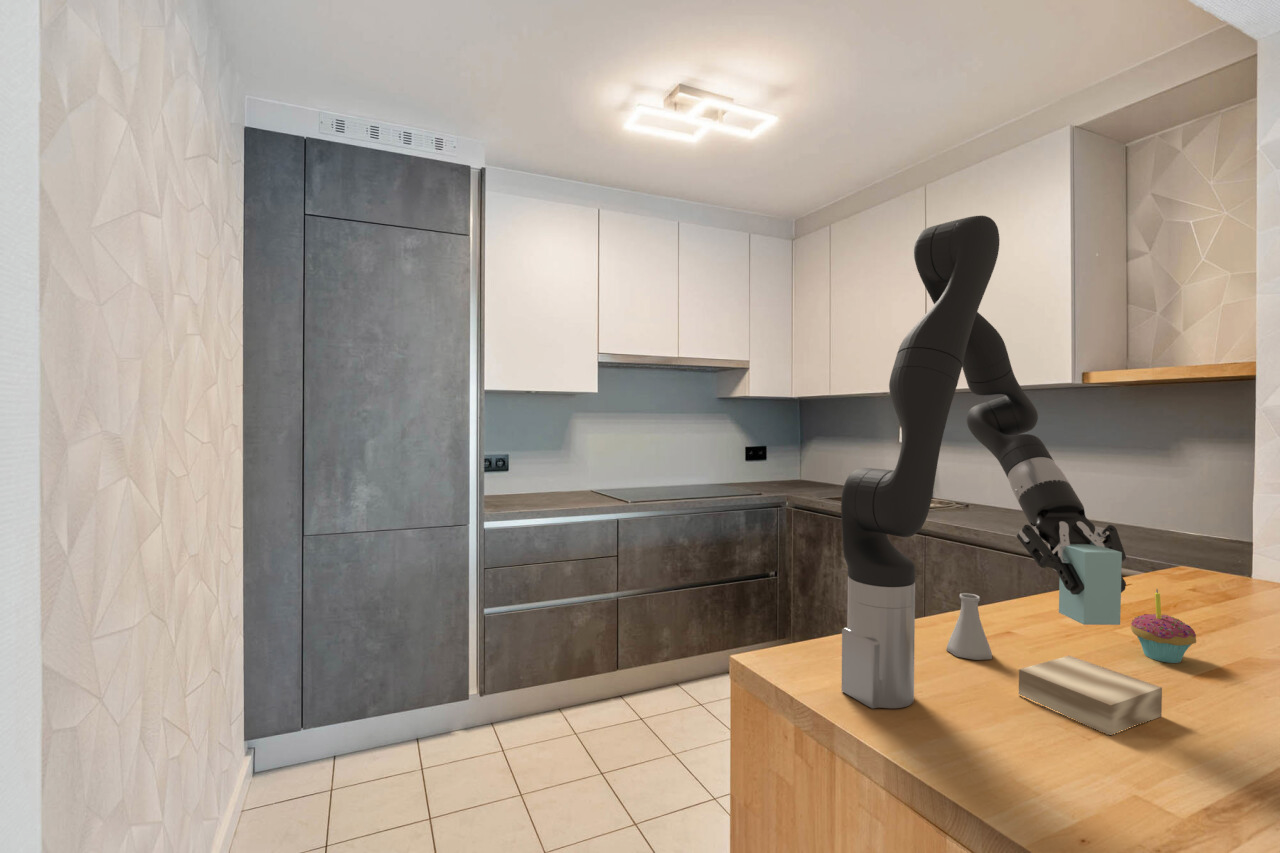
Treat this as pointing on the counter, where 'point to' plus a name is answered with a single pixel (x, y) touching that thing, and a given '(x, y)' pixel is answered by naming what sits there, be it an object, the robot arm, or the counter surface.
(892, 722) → the counter surface
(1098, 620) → the teal block
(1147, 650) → the cupcake
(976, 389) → the robot arm
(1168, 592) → the counter surface
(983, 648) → the flask
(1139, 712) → the birch plinth
